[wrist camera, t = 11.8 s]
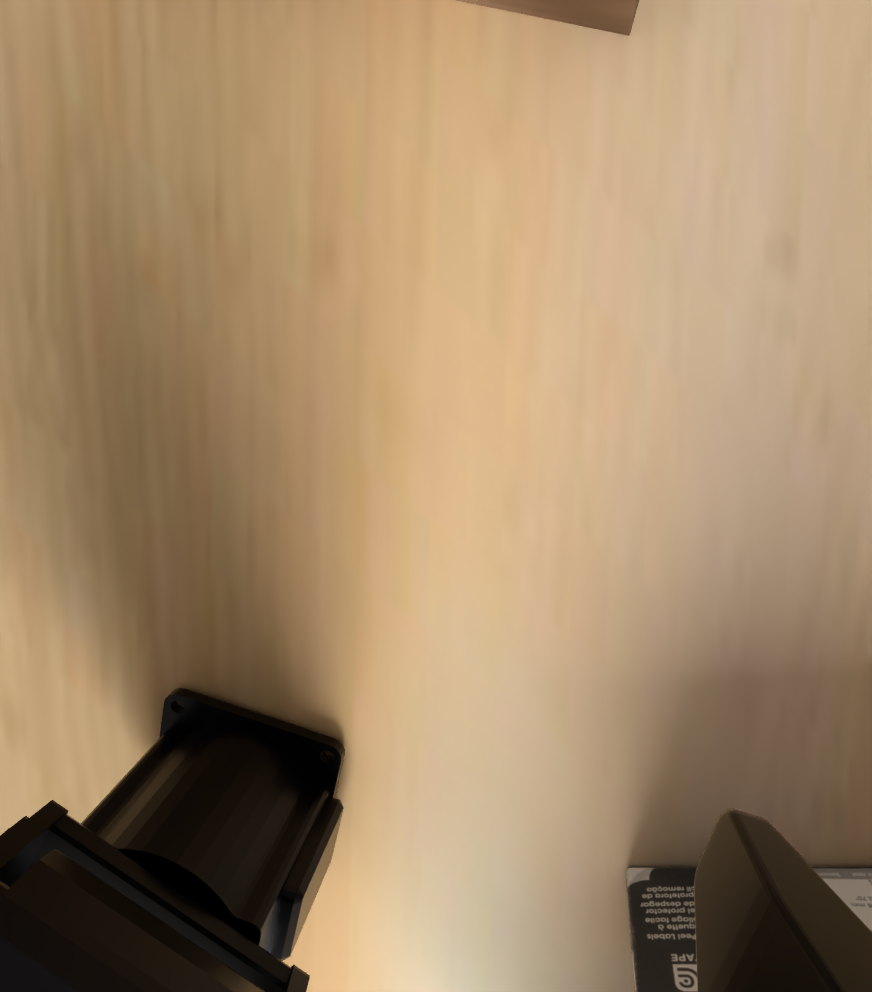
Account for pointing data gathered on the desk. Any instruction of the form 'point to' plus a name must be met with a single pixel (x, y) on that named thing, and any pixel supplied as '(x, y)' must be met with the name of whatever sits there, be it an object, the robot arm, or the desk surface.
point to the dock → (574, 11)
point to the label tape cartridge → (671, 921)
